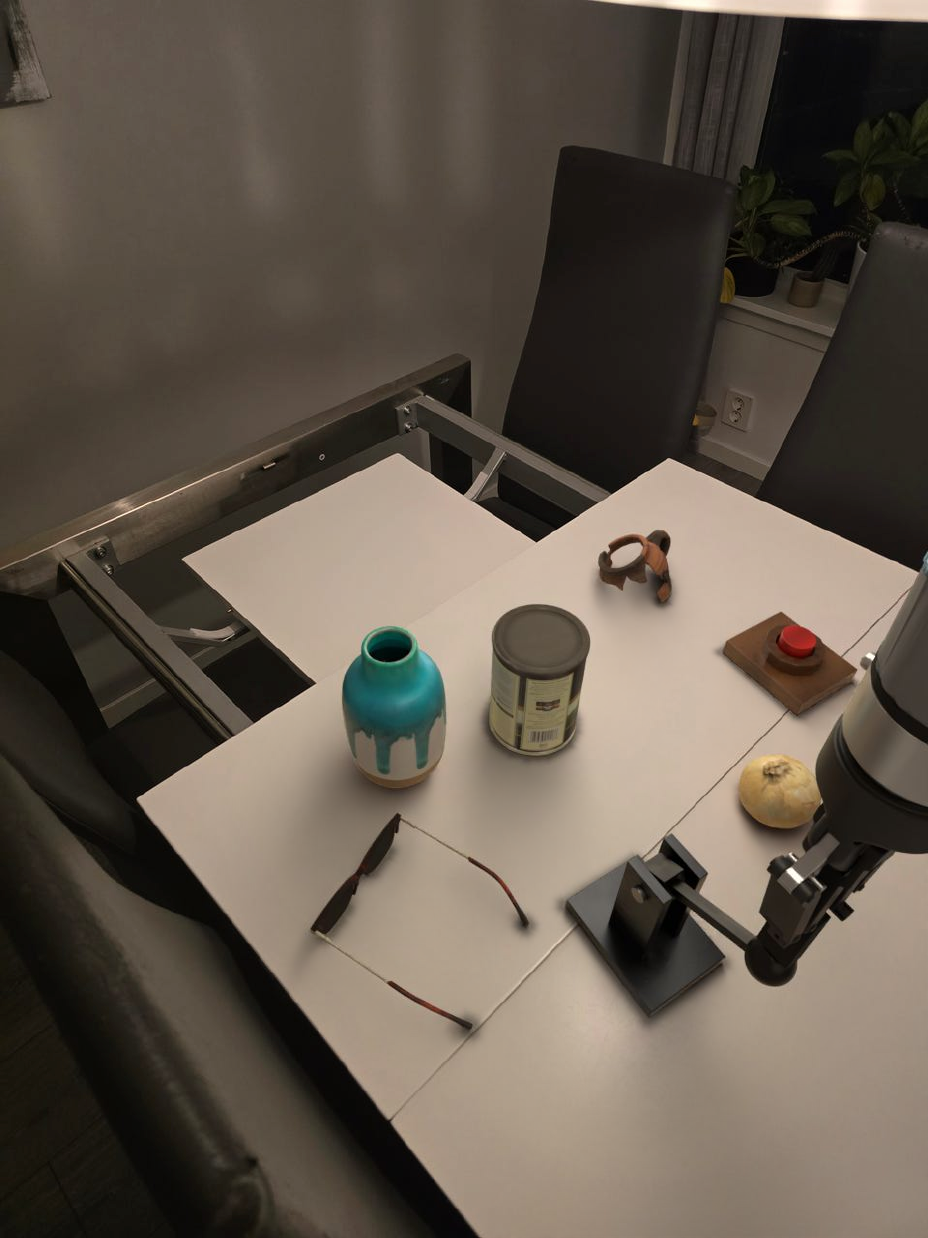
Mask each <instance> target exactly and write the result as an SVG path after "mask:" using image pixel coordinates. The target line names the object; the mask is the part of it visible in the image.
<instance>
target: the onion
mask: <svg viewBox="0 0 928 1238" xmlns="http://www.w3.org/2000/svg"><path fill="white" fill-rule="evenodd" d="M738 794H739V799H740V801H741V804H742V807H744V809H745V810H746V811H747V812H748V813H749V814H750V815H751V817H752V818H753V819H754V820H756V821H757V822H759V823H761V824H762V825H765V826H767V827H770V828H778V829H794V828H797V827H799V826H802V825H805V824H806V823H808V822H809V821H811V820H813V815H814V813H815V812H816V810H817V808H818V807H819V806H820V805H821V804H822V798H821V795H820V792H819V789H818V786H817V782H816V775H815V774H814V773H813V772H812V770H811V769H810V768H809V767H808V766H807V765H806V764H805V763H803V762H801V761H800V760H799V759H796V758H794V757H791V756H788V755H786V754H766V755H761V756H759V757H757V758H755V759H754V760H752V761H751V762H750V763H748V764H747V765H746V766H745V767H744V768H743V769H742V770H741V774H740V777H739V781H738Z"/></svg>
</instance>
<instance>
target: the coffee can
mask: <svg viewBox="0 0 928 1238" xmlns="http://www.w3.org/2000/svg"><path fill="white" fill-rule="evenodd" d="M491 645H492V650H491V651H492V653H491V656H492V657H491V678H490V679H491V680H490V681H491V682H490V705H489V714H488V722H489V723H488V724H489V728H490V731H491V732H492V735H493V736H494V737H495V739H496V740H497V741H498V743H500V744H501V745H503V746H504V747H505V748H507V749H508V750H510V751H512V752H514V753H517V754H519V755H524V756H529V757H530V756H531V757H537V756H539V757H540V756H547V755H550V754H553V753H556V752H558V751H560V750H561V749H563V748H564V747H566V746H567V745H568V744H569V743H570V741H571V740H572V739H573V737H574V735H575V732H576V728H577V717H578V711H579V706H580V699H581V694H582V687H583V682H584V676H585V671H586V664H587V659H588V656H589V653H590V649H591V635H590V632H589V630H588V628H587V627H586V625H585V624H584V622H583V621H582V620H581V619H580V618H578V617H577V616H576V615H575V614H573V613H572V612H570V611H568V610H566V609H564V608H562V607H559V606H556V605H551V604H543V603H530V604H524V605H520V606H517V607H515V608H512V609H510V610H508V611H506V612H504V614H502V615H501V616H500V617H499V618H498V619H497V621H496V622H495V624H494V625H493V628H492V631H491Z"/></svg>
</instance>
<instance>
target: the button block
mask: <svg viewBox="0 0 928 1238" xmlns="http://www.w3.org/2000/svg"><path fill="white" fill-rule="evenodd" d="M792 625H796V626H801V625H800V624H799V623H797V622H796V621H794V620H793V619H792V618H791V617H789V616H788V615H787V614H785V613H784V612H783V611H779V612H777V613H775V614H773V615H771V616H770V617H768V618H766V619H764V620H762V621H759V623H757V624H755V625H753V626H751V627H749V628H747V629H746V630H744V631H742V632H739V633H738V634H736V635H734V636H732V637H731V638H728V639H726V641H725V644H724V647H723V649H722V653H723V654H724V655H725V656H726V657H727V658H729V659H730V660H731V661H732V662H733V663H735V665H737V666H738V667H739V668H740V669H742V670H743V671H744V672H745V673H746V674H748V675H749V676H750V677H751V678H752V679H753V680H754V681H756V682H757V683H758V684H759V685H760V686H762V687H763V689H765V690H766V691H768V692H769V693H770V695H772V696H774V698H776V699H777V700H778V701H779V702H780V703H782V704H783V705H784V706H785V707H786V708H787V709H789V710H790V711H791V712H792V713H793V714H795V716H797V715H799V714H801V713H803V712H804V711H805V710H808V709H809V708H810V707H812V706H813V705H815V704H818V703H819V702H821V700H824V699H825V698H826V697H828V696H830V695H831V694H833V693H835V692H836V691H838V690H840V689H841V688H843V687H845V686H846V685H848V684H850V683H852V681H853V679H854V678H855V675H856V674H857V672H858V670H859V669H858V668H856V667H855V666H854V665H852V664H851V663H850V662H848V661H847V660H846V659H845V658H843V657H842V656H841V655H839V654H838V653H837V652H835V651H834V650H833V649H832V648H830V647H829V646H828V645H826V644H825V643H824V642H823V641H822V639H821V638H820V636H818V635H817V634H816V633H814V632H812V633H813V634H814V636H815V638H816V644H815V646H814V648H813V651H812V653H811V654H810V655H809V656H808V657H806V658H802V659H797V658H793V657H791V656H788V655H786V654H785V653H783V652H782V651H781V650H780V649H779V647H778V640H779V638H780V635H781V633H782V630H783V629H784V628H786V627H788V626H792Z"/></svg>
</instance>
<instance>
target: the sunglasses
mask: <svg viewBox="0 0 928 1238" xmlns="http://www.w3.org/2000/svg"><path fill="white" fill-rule="evenodd" d="M401 822H403V823H405V825H407V826H410V827H411V828H412V829H417V830H419V831H420V832H421V833H423V834H425V835H426V836H428V837H429V838H431V839H433V840H434V841H437V842H438V843H440V844H441V845H443V846H445V847H446V848H448V849H450V850H451V851H453V852H455V853H456V854H458V855H460V856H461V857H463V858H464V859H466V860H467V861H468V862H469V863H471V864H472V865H474V866H475V867H477V868H479V869H480V870H482V871H483V872H485V873H486V874H487V875H489V876H490V877H492V879H494V880H495V882H497V883H498V884H499V885H500V886H501V888H502V889H503V891H504V892H505V894H506V895H507V897H508V899H509V900H510V902H511V903H512V905H513V907H514V908H515V910H516V912H517V915H518V917H519V919H520V921H521V923H522V926H523V927H528V926H529V925H530V922H529V920H528V918H527V916H526V915H525V913H524V911H523V909H522V908H521V906H520V904H519V903H518V901H517V900H516V898H515V896H514V895H513V893H512V891H511V890H510V888H509V887H508V885H507V883H506V882H504V881H503V879H502V878H501V877H500V876H499V875H498V874H497V873H496V872H494V871H493V870H492V869H491V868H489V867H488V866H486V865H484V864H482V863H481V862H479V861H478V860H476V859H474V858H472V857H471V856H469V855H467V854H465V853H464V852H462V851H460V850H458V849H456V848H455V847H453V846H452V845H450V844H448V843H446V842H445V841H443V840H441V839H440V838H438V837H436V836H435V835H433V834H432V833H430V832H428V831H426V830H425V829H424V828H422V827H420V826H418V825H417V824H416V823H414V822H413V821H411V820H409V819H407V818H406V817H405V816H402V814H401V813H399V812H396V813H395V814H394V816H392V818H391V819H390V820H389V821H388V822H387V824H386V825H385V826H384V827H383V828H382V830H381V831H380V833H379V834H378V835H377V837H376V838H375V840H374V841H373V842H372V844H371V846H370V847H369V849H368V850H367V852H366V854H365V855H364V856H363V858H362V860H361V862H360V864H359V866H358V868H357V869H356V871H354V873H353V874H352V875H350V876H349V877H348V878H347V879H346V880H345V881H344V883H343V884H341V886H340V887H339V888H338V889H337V891H335V892H334V894H333V895H332V897H330V899H329V900H328V902H327V903H326V905H325V906H324V907H323V909H321V912H320V913H319V914H318V916H317V918H316V919H315V921H314V922H313V923H312V925H311V927H310V928H309V931H310V933H311V934H313V935H314V936H317V937H318V938H319V939H321V940H323V941H324V942H325V943H327V944H329V945H330V946H332V947H333V948H335V949H336V950H338V951H339V952H340V953H342V954H344V955H345V956H346V957H347V958H349V959H351V960H352V961H354V962H355V963H357V965H360V966H361V967H362V968H363V969H365V970H367V971H368V972H370V973H371V974H373V975H374V976H376V977H377V978H378V979H380V980H381V981H383V982H384V983H385V984H386V985H388V987H390V988H391V989H394V990H395V991H397V992H398V993H399V994H401V995H402V996H404V997H405V998H407V999H409V1000H410V1001H412V1002H414V1003H416V1004H417V1005H419V1006H422V1007H424V1008H425V1009H427V1010H429V1011H431V1012H433V1013H435V1014H437V1015H439V1016H441V1017H443V1018H446V1019H448V1020H450V1021H451V1022H454V1023H456V1024H458V1025H460V1026H461V1027H463V1028H465V1029H467V1030H472V1029H473V1023H472V1022H470V1021H467V1020H465V1019H462V1018H460V1017H458V1016H456V1015H454V1014H452V1013H450V1012H449V1011H448V1012H447V1011H446V1010H444V1009H442V1008H439V1007H437V1006H435V1005H433V1004H432V1003H430V1002H428V1001H425V1000H424V999H422V998H420V997H418V996H416V995H414V994H412V993H411V992H409V991H407V990H406V989H404V988H403V987H401V986H400V985H399V984H398V983H396V982H395V981H393V980H388V979H387V978H386V977H384V976H382V975H381V974H380V973H378V972H376V971H375V970H374V969H372V968H371V967H369V966H367V965H366V964H365V963H363V962H362V961H360V960H359V959H357V958H356V957H354V956H353V955H352V954H351V953H348V952H347V951H346V950H344V949H343V948H341V947H340V946H338V945H336V944H335V943H334V942H333V941H332V940H331V939H330V938H329V937H327V936H326V935H328V934H329V933H330V932H331V931H332V930H333V929H334V928H335V926H337V924H338V923H339V921H340V920H341V918H342V917H343V916H344V915H345V913H346V911H347V910H348V908H349V906H350V903H351V901H352V898H353V896H356V893H357V891H358V887H359V884H360V881H361V878H362V877H363V876H366V877H369V876H370V875H372V874H373V873H374V872H376V870H377V869H378V868H379V866H381V864H382V862H383V861H384V859H385V858H386V857H387V855H388V853H389V851H390V850H391V848H392V846H393V844H394V840H395V836H396V835H398V833H399V829H400V823H401Z"/></svg>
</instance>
